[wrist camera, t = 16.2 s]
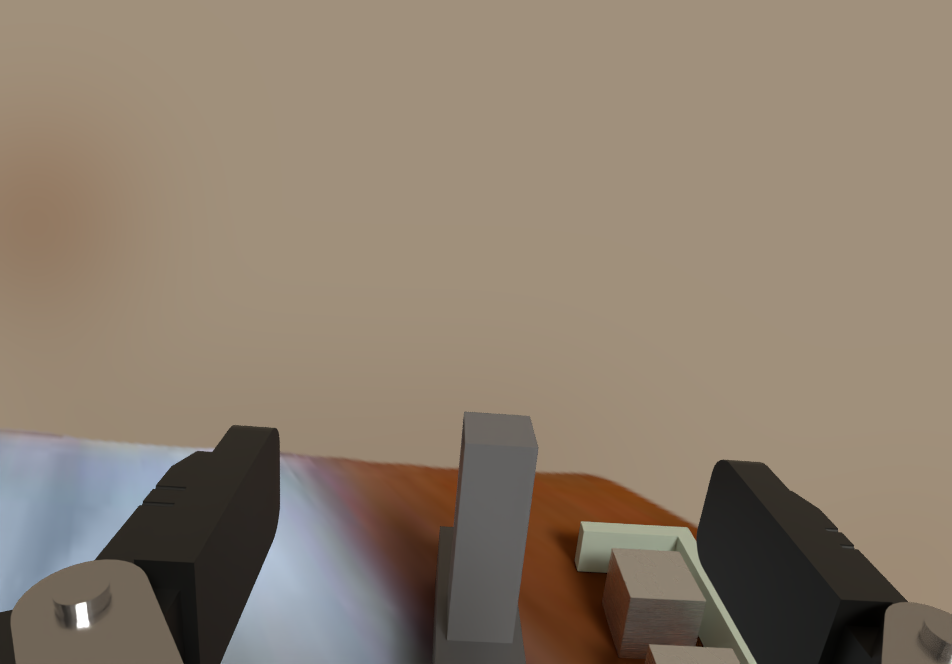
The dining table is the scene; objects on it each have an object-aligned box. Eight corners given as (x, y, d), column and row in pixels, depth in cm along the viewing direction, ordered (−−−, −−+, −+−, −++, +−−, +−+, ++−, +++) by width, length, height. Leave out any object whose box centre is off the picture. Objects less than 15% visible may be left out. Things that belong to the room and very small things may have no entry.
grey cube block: (618, 658, 33) (630, 597, 31) (601, 604, 36) (611, 547, 35) (691, 661, 33) (706, 601, 32) (666, 607, 37) (679, 551, 35)
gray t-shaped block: (424, 833, 24) (452, 524, 19) (435, 582, 37) (453, 367, 33) (526, 836, 24) (575, 531, 20) (500, 586, 37) (527, 372, 33)
